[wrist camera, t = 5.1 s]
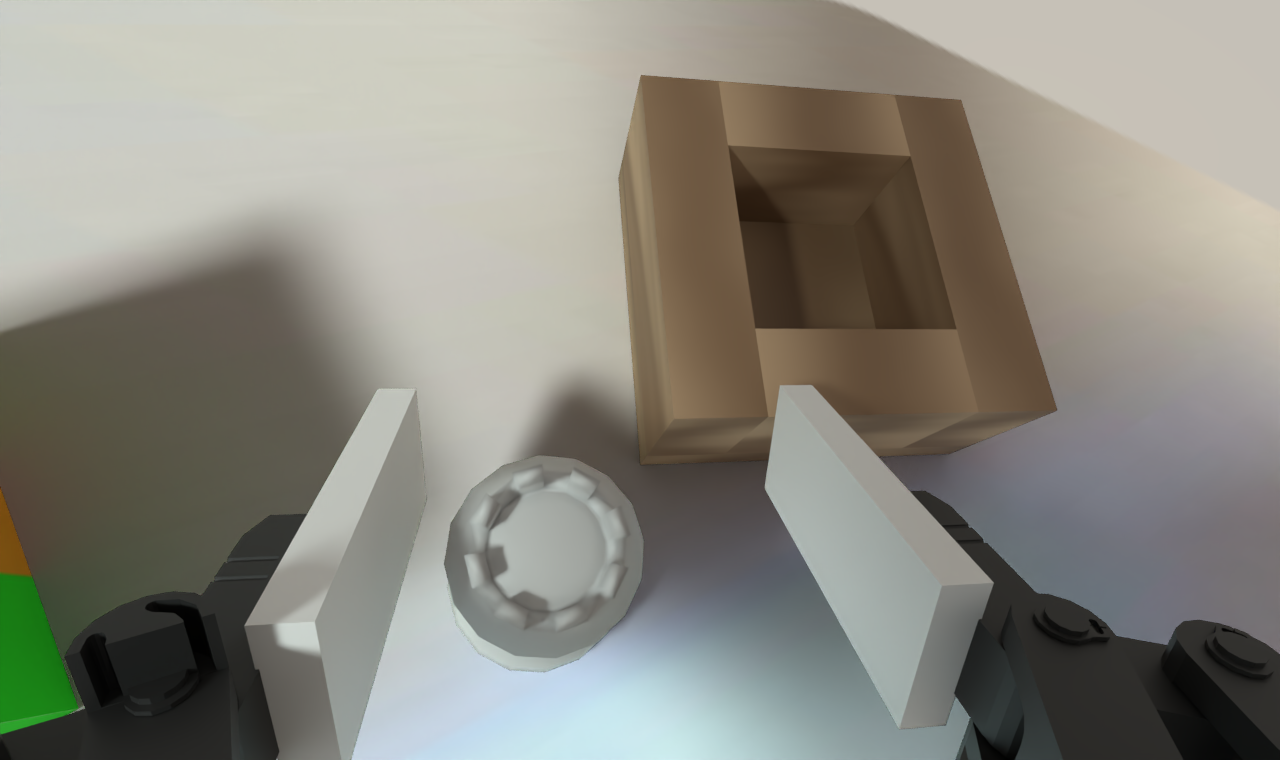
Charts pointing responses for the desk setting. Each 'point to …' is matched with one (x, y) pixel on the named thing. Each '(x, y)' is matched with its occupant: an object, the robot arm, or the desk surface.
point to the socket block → (816, 272)
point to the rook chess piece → (542, 562)
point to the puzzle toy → (26, 643)
